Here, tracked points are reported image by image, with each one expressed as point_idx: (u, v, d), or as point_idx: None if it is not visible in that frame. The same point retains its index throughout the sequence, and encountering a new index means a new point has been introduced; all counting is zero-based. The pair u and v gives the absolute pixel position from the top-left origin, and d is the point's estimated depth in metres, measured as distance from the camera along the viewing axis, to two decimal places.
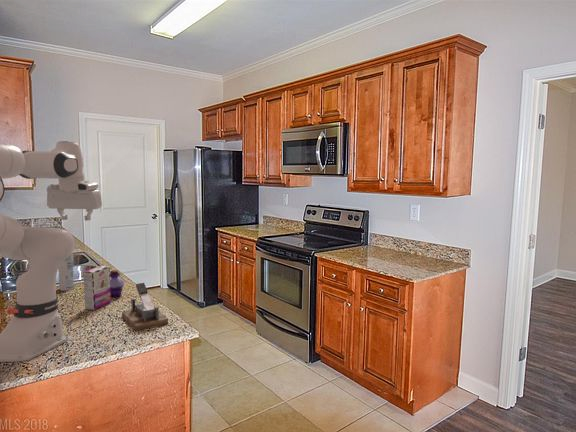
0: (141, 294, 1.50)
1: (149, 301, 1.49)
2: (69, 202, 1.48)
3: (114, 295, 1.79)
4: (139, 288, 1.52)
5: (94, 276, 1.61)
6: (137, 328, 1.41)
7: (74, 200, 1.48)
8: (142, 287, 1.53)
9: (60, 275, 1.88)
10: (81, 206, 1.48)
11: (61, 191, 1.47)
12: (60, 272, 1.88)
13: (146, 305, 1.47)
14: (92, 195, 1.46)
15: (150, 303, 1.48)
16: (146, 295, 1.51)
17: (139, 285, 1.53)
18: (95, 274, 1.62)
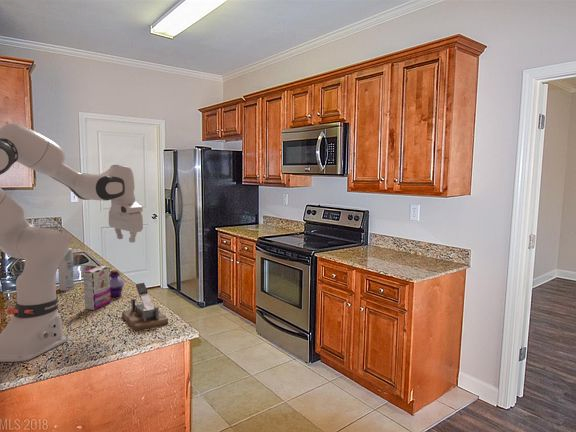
0: (141, 294, 1.50)
1: (149, 301, 1.49)
2: (119, 223, 1.53)
3: (114, 295, 1.79)
4: (139, 288, 1.52)
5: (94, 276, 1.61)
6: (137, 328, 1.41)
7: (121, 221, 1.52)
8: (142, 287, 1.53)
9: (60, 275, 1.88)
10: (125, 228, 1.51)
11: (115, 212, 1.54)
12: (60, 272, 1.88)
13: (146, 305, 1.47)
14: (130, 218, 1.46)
15: (150, 303, 1.48)
16: (146, 295, 1.51)
17: (139, 285, 1.53)
18: (95, 274, 1.62)
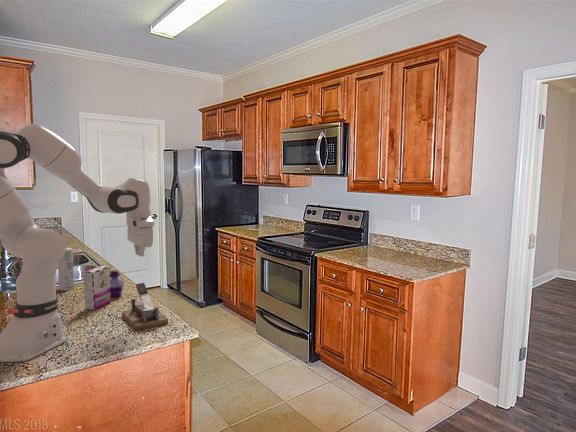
0: (141, 294, 1.50)
1: (149, 301, 1.49)
2: (133, 237, 1.51)
3: (114, 295, 1.79)
4: (139, 288, 1.52)
5: (94, 276, 1.61)
6: (137, 328, 1.41)
7: (135, 235, 1.50)
8: (142, 287, 1.53)
9: (60, 275, 1.88)
10: (137, 242, 1.48)
11: None
12: (60, 272, 1.88)
13: (146, 305, 1.47)
14: (140, 233, 1.43)
15: (150, 303, 1.48)
16: (146, 295, 1.51)
17: (139, 285, 1.53)
18: (95, 274, 1.62)
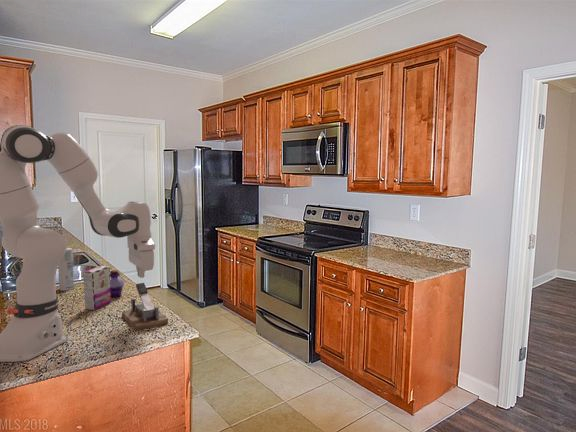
0: (141, 294, 1.50)
1: (149, 301, 1.49)
2: (135, 259, 1.52)
3: (114, 295, 1.79)
4: (139, 288, 1.52)
5: (94, 276, 1.61)
6: (137, 328, 1.41)
7: (136, 258, 1.51)
8: (142, 287, 1.53)
9: (60, 275, 1.88)
10: (138, 265, 1.49)
11: None
12: (60, 272, 1.88)
13: (146, 305, 1.47)
14: (141, 256, 1.44)
15: (150, 303, 1.48)
16: (146, 295, 1.51)
17: (139, 285, 1.53)
18: (95, 274, 1.62)
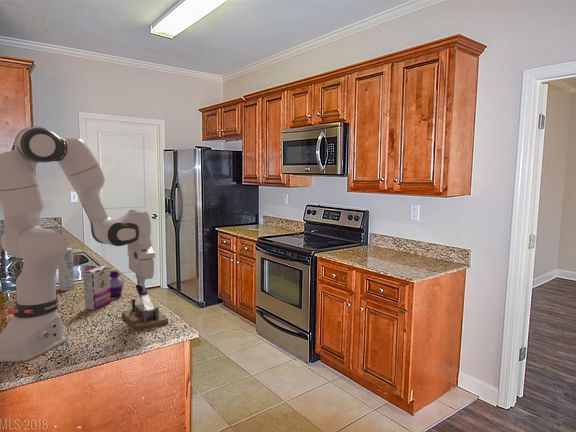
0: (141, 295, 1.51)
1: (149, 301, 1.49)
2: (135, 267, 1.53)
3: (114, 295, 1.79)
4: (139, 289, 1.52)
5: (94, 276, 1.61)
6: (137, 328, 1.41)
7: (136, 266, 1.51)
8: (142, 288, 1.53)
9: (60, 275, 1.88)
10: (138, 273, 1.49)
11: None
12: (60, 272, 1.88)
13: (146, 305, 1.47)
14: (141, 265, 1.44)
15: (150, 303, 1.48)
16: (146, 296, 1.51)
17: (139, 286, 1.53)
18: (95, 274, 1.62)
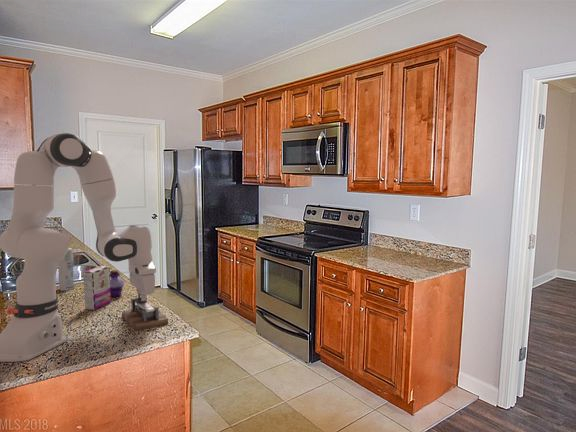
0: (140, 303, 1.52)
1: (148, 305, 1.50)
2: (136, 282, 1.53)
3: (114, 295, 1.79)
4: (138, 300, 1.54)
5: (94, 276, 1.61)
6: (137, 328, 1.41)
7: (137, 281, 1.52)
8: None
9: (60, 275, 1.88)
10: (140, 288, 1.50)
11: None
12: (60, 272, 1.88)
13: (146, 308, 1.47)
14: (142, 280, 1.45)
15: (150, 306, 1.49)
16: (145, 303, 1.52)
17: (138, 298, 1.55)
18: (95, 274, 1.62)
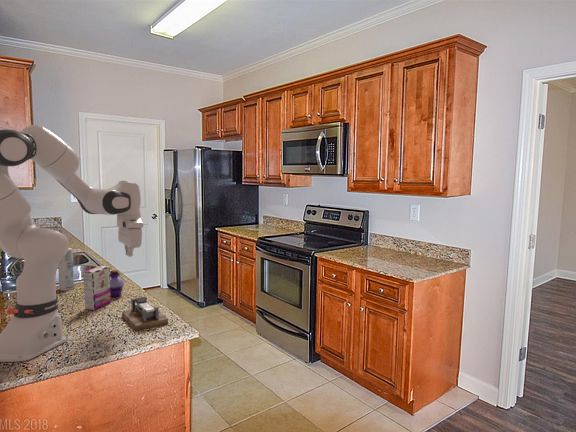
0: (140, 303, 1.52)
1: (148, 305, 1.50)
2: (123, 238, 1.55)
3: (114, 295, 1.79)
4: (138, 300, 1.54)
5: (94, 276, 1.61)
6: (137, 328, 1.41)
7: (125, 236, 1.54)
8: (141, 299, 1.55)
9: (60, 275, 1.88)
10: (127, 243, 1.52)
11: None
12: (60, 272, 1.88)
13: (146, 308, 1.47)
14: (129, 233, 1.47)
15: (150, 306, 1.49)
16: (145, 303, 1.52)
17: (138, 298, 1.55)
18: (95, 274, 1.62)
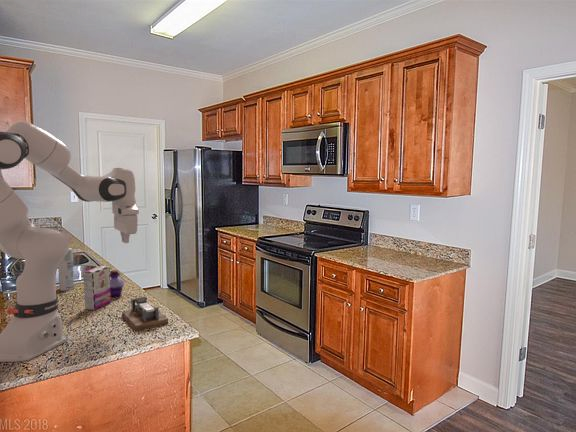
0: (140, 303, 1.52)
1: (148, 305, 1.50)
2: (119, 225, 1.56)
3: (114, 295, 1.79)
4: (138, 300, 1.54)
5: (94, 276, 1.61)
6: (137, 328, 1.41)
7: (120, 223, 1.55)
8: (141, 299, 1.55)
9: (60, 275, 1.88)
10: (122, 230, 1.53)
11: None
12: (60, 272, 1.88)
13: (146, 308, 1.47)
14: (124, 220, 1.48)
15: (150, 306, 1.49)
16: (145, 303, 1.52)
17: (138, 298, 1.55)
18: (95, 274, 1.62)
